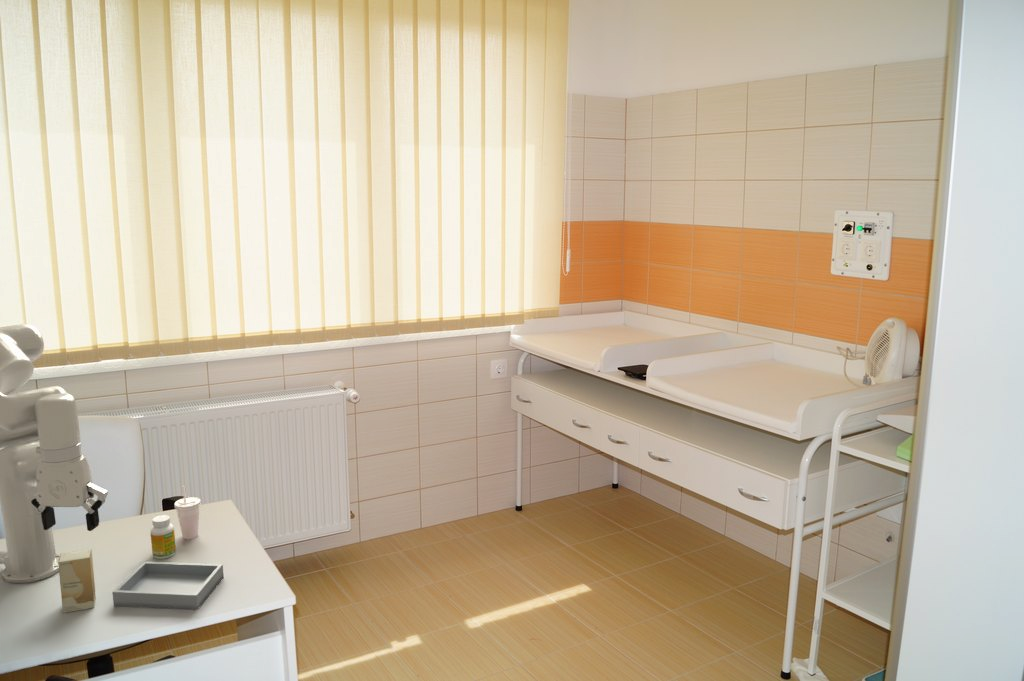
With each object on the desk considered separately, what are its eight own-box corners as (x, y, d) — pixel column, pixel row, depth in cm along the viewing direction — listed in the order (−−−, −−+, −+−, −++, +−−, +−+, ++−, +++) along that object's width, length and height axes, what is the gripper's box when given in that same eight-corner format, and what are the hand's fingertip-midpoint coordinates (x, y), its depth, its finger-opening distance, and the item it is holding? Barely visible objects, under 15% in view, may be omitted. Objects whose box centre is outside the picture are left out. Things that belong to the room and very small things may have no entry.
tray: (113, 606, 172) (112, 592, 172) (145, 575, 186) (144, 561, 185) (198, 609, 171) (196, 595, 171) (223, 577, 185) (222, 564, 184)
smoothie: (181, 531, 208) (177, 481, 205) (206, 530, 209) (202, 481, 206) (174, 542, 202) (169, 491, 199) (199, 541, 202) (195, 490, 199)
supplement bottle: (167, 560, 193) (163, 524, 190) (147, 558, 194) (144, 522, 191) (180, 550, 198) (177, 514, 196) (161, 548, 199) (158, 512, 197)
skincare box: (62, 613, 169) (56, 562, 167) (65, 603, 173) (58, 553, 171) (96, 607, 172) (90, 556, 169) (97, 597, 176) (91, 547, 173)
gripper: (10, 458, 162) (21, 534, 165) (91, 459, 161) (100, 536, 164) (33, 445, 169) (44, 519, 172) (111, 447, 168) (120, 521, 171)
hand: (71, 527), depth 168 cm, fingers open, 9 cm apart
